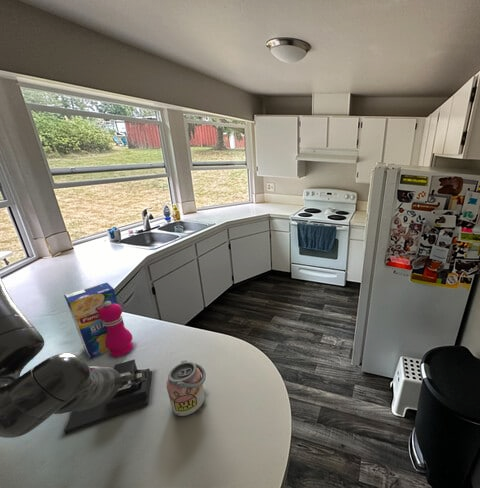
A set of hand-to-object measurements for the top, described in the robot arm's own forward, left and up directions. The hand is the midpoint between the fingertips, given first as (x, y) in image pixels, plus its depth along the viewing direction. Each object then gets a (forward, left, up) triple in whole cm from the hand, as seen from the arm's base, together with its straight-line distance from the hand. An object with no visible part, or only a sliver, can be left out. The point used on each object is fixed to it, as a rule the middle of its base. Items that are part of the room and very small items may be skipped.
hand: (117, 385), depth 63 cm
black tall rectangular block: (-3, +6, -10) cm, 12 cm away
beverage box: (-26, +24, -11) cm, 37 cm away
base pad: (-7, +4, -11) cm, 13 cm away
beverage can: (+15, +4, -11) cm, 19 cm away
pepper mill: (-19, +22, -11) cm, 31 cm away
